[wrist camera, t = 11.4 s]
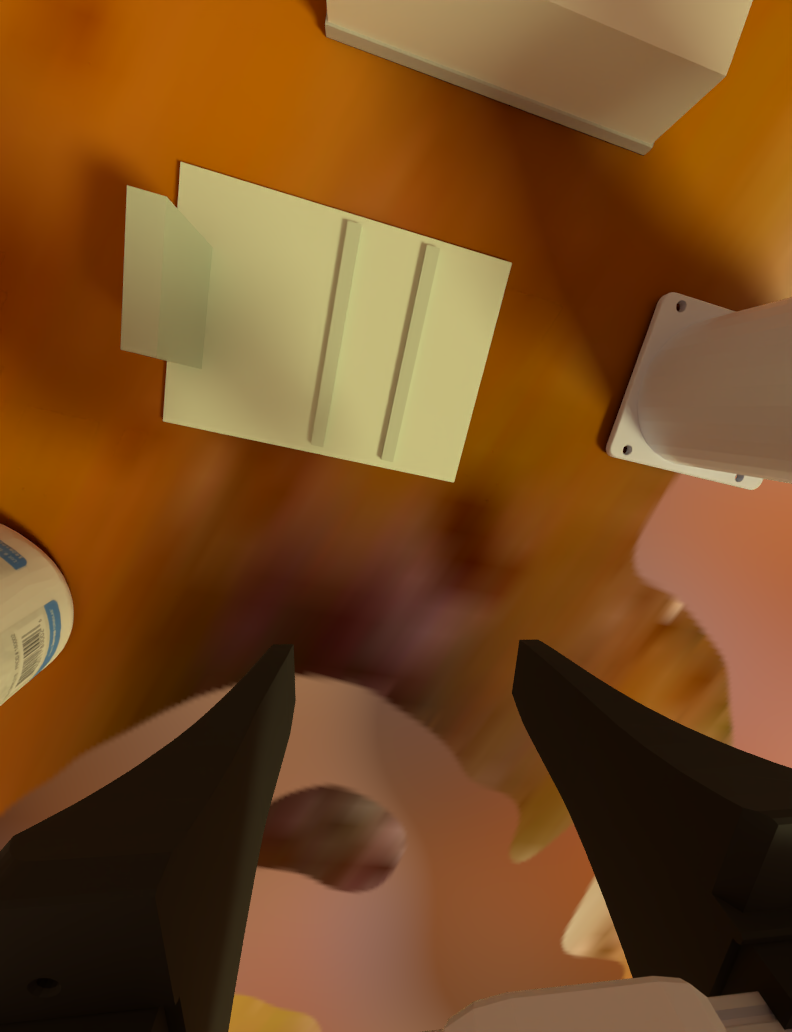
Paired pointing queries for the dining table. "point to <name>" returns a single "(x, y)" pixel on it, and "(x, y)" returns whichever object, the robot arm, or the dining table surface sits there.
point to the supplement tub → (29, 611)
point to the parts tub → (560, 54)
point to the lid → (308, 323)
